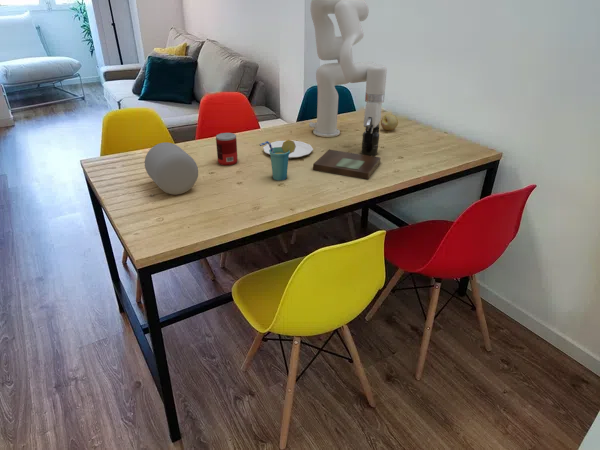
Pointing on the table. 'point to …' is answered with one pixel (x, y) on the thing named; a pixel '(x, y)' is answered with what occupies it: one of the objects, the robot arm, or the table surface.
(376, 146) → the supplement bottle
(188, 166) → the grey rounded cylinder
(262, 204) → the table surface
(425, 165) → the table surface
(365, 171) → the walnut board
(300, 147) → the plate
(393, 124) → the fruit
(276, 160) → the cup
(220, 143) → the canned food
